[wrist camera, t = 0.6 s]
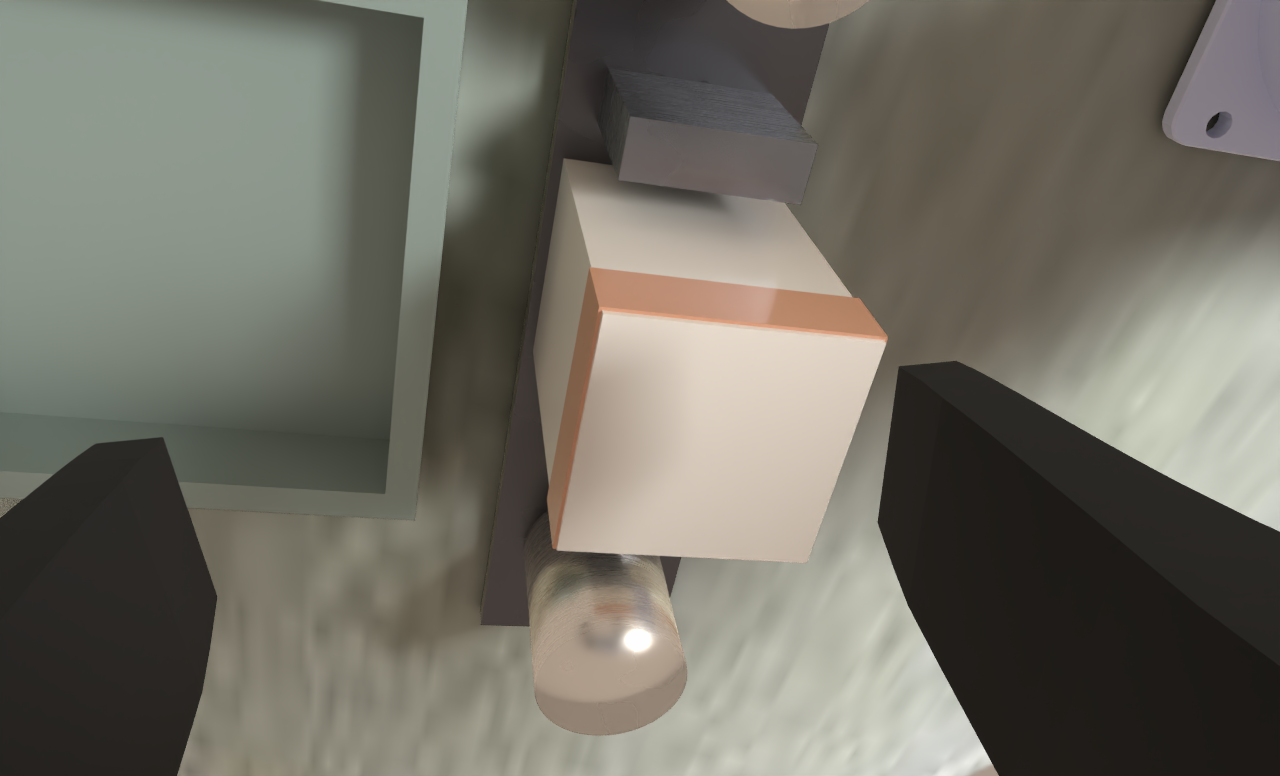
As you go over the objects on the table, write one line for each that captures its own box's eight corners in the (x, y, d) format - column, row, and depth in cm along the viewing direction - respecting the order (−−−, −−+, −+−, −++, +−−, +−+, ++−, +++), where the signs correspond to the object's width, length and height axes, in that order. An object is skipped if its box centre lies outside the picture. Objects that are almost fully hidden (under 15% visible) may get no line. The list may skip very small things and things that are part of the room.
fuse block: (901, -278, 16) (1040, -289, 12) (657, 615, 25) (692, 768, 21) (626, -350, 15) (682, -386, 11) (480, 609, 24) (484, 767, 20)
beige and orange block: (776, 184, 19) (890, 340, 14) (725, 371, 21) (809, 565, 16) (561, 155, 18) (600, 310, 13) (530, 352, 20) (553, 552, 15)
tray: (468, -45, 16) (469, -18, 15) (419, 452, 21) (415, 520, 20) (-245, -174, 14) (-356, -164, 12) (-114, 414, 19) (-179, 487, 17)
